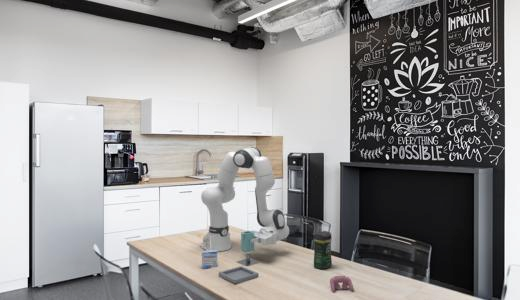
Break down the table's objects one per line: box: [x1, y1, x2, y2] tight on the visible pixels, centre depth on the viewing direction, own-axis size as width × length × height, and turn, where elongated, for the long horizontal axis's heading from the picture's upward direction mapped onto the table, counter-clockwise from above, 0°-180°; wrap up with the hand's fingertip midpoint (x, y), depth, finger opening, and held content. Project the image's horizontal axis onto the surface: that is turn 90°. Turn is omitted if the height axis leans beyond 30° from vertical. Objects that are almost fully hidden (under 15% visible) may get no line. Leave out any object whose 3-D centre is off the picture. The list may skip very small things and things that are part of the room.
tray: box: [218, 265, 259, 285], centre depth 177 cm, size 14×14×2 cm
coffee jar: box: [313, 230, 333, 270], centre depth 189 cm, size 10×8×19 cm
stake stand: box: [236, 252, 262, 268], centre depth 197 cm, size 10×10×5 cm
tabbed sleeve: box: [240, 230, 255, 253], centre depth 196 cm, size 5×6×10 cm
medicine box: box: [201, 250, 218, 270], centre depth 192 cm, size 8×4×9 cm, turn 105°
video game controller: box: [329, 275, 354, 293], centre depth 159 cm, size 10×5×7 cm, turn 93°
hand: (246, 239), depth 196 cm, fingers closed on tabbed sleeve, 5 cm apart
